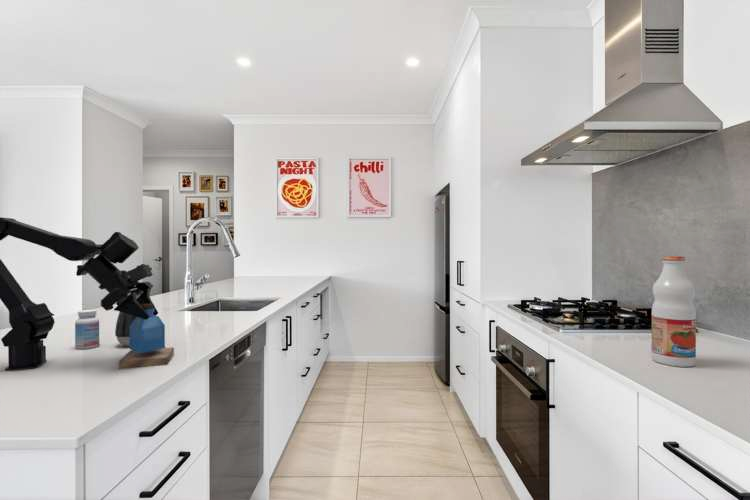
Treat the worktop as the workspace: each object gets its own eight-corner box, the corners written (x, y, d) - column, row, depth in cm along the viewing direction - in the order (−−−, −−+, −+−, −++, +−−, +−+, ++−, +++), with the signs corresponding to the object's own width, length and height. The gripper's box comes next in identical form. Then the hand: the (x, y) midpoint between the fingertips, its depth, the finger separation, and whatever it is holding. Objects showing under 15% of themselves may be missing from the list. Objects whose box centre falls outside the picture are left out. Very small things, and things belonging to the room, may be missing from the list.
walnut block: (119, 371, 102) (118, 361, 102) (130, 359, 112) (130, 350, 112) (167, 366, 106) (167, 357, 105) (173, 355, 116) (173, 347, 116)
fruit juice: (664, 355, 113) (665, 255, 112) (703, 364, 104) (704, 256, 104) (643, 359, 109) (644, 256, 108) (682, 369, 100) (683, 257, 100)
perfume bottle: (140, 352, 105) (140, 306, 104) (129, 349, 108) (129, 304, 108) (164, 347, 110) (164, 304, 110) (153, 344, 113) (153, 302, 113)
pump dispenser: (141, 348, 122) (141, 298, 122) (107, 348, 122) (107, 298, 122) (159, 340, 132) (159, 294, 132) (128, 340, 132) (128, 294, 132)
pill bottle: (86, 350, 121) (86, 312, 120) (70, 349, 122) (69, 312, 122) (104, 345, 126) (104, 309, 126) (88, 344, 128) (87, 309, 128)
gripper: (114, 255, 99) (162, 299, 101) (145, 253, 117) (185, 291, 119) (79, 287, 98) (128, 331, 99) (116, 280, 116) (157, 318, 118)
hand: (152, 316), depth 109 cm, fingers closed on perfume bottle, 6 cm apart
